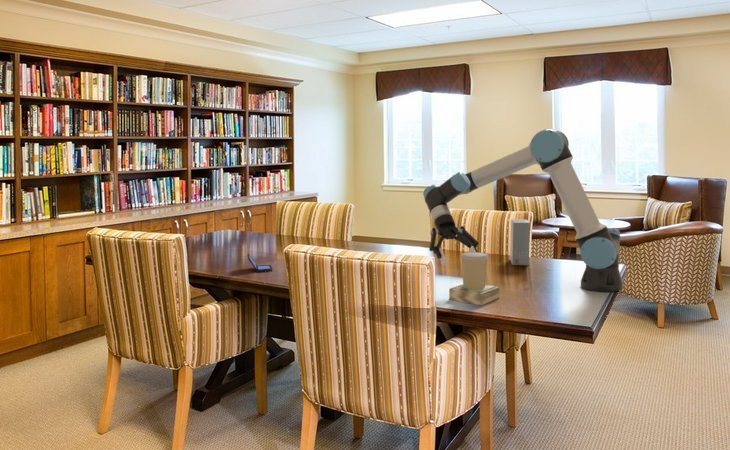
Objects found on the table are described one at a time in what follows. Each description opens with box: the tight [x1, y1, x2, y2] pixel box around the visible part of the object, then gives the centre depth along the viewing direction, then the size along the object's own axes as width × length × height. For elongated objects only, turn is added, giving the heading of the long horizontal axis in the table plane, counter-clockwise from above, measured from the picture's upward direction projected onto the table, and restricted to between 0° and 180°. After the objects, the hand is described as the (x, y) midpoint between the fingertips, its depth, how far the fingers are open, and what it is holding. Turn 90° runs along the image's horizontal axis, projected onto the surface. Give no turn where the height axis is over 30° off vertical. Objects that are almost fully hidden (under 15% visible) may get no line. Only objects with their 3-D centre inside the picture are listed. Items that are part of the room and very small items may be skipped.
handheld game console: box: [247, 253, 273, 273], centre depth 273 cm, size 12×11×7 cm
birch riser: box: [448, 283, 500, 306], centre depth 215 cm, size 13×13×4 cm
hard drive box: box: [509, 218, 531, 266], centre depth 279 cm, size 16×8×20 cm, turn 170°
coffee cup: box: [461, 251, 489, 289], centre depth 214 cm, size 9×9×12 cm
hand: (461, 263), depth 223 cm, fingers open, 13 cm apart
